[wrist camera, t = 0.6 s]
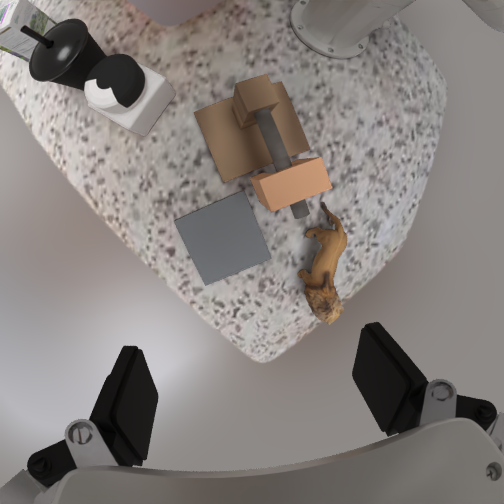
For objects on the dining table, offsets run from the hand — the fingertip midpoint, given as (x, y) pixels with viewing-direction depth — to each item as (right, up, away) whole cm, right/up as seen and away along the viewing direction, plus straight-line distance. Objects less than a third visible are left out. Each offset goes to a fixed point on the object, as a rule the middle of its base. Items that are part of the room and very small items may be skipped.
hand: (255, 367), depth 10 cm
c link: (+3, +13, +20) cm, 24 cm away
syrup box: (-34, +39, +13) cm, 54 cm away
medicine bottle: (-15, +25, +20) cm, 35 cm away
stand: (+1, +18, +23) cm, 29 cm away
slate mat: (-4, +6, +26) cm, 27 cm away
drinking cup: (-21, +29, +17) cm, 40 cm away
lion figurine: (+9, +4, +29) cm, 30 cm away
